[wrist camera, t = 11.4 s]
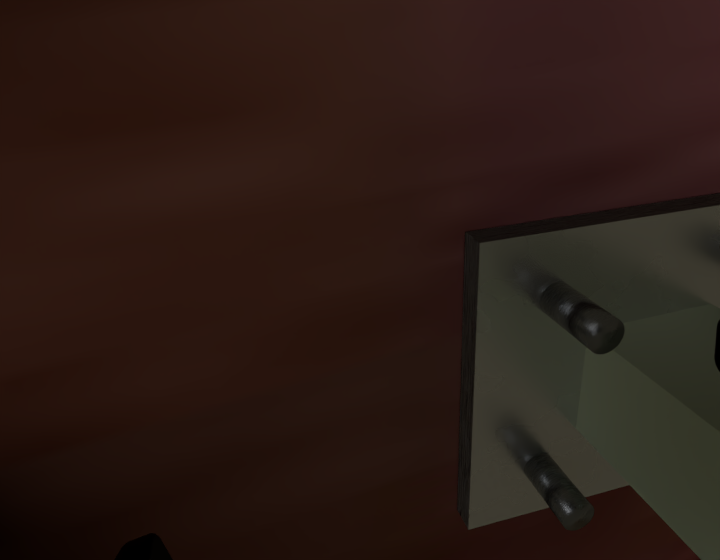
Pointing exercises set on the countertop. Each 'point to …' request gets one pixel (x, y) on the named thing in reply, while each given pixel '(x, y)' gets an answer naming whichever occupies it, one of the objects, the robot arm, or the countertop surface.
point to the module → (662, 419)
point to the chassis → (562, 343)
